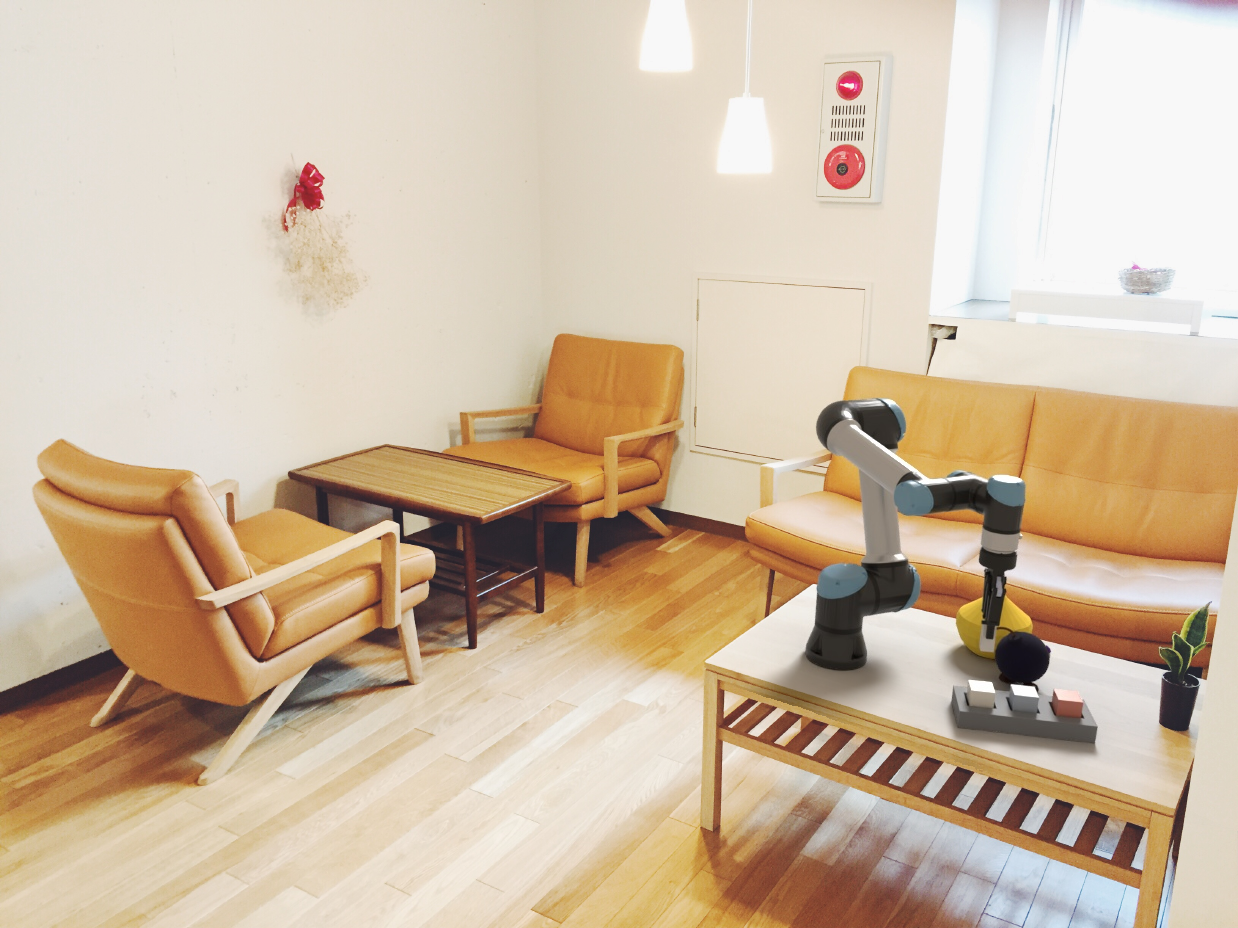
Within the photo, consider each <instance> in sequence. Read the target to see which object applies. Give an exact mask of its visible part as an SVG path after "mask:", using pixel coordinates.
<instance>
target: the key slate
mask: <svg viewBox="0 0 1238 928" xmlns="http://www.w3.org/2000/svg"><path fill="white" fill-rule="evenodd" d="M1009 687H1010V688H1009V691H1010V693H1009V703H1010V705H1011V708H1012V711H1020V712H1029V713H1037V709H1038V702H1039V696H1038V695H1039V694H1038V691H1037V692H1036V689H1035V687H1032V686H1022V684H1012V683H1011V684H1010V686H1009Z"/></svg>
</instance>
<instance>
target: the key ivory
mask: <svg viewBox="0 0 1238 928" xmlns="http://www.w3.org/2000/svg"><path fill="white" fill-rule="evenodd" d="M966 687H967V699H968V703H969V706H975V707H984V708H994V700H995V690H996V689H995V688H994V685H993V682H991V681H984V680H972V679H968V681H967V686H966Z"/></svg>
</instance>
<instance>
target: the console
mask: <svg viewBox="0 0 1238 928" xmlns="http://www.w3.org/2000/svg"><path fill="white" fill-rule="evenodd" d="M967 687H968V686H962V685H955V684H954V685H953V686H952V694H951V704H952V709H953V714H954V716H955V721H956V722H955V723H956V725H957V728H958V729H959V728H960V729H966V730H967V729H968V730H977V731H985V732H994V733H995V732H996V733H1003V734H1012V735H1019V736H1030V737H1038V738H1047V739H1053V740H1054V739H1056V740H1062V741H1071V742H1079V743H1081V742H1082V743H1087V744H1088V743H1090V744H1096V741H1097V740H1096V739H1097V734H1098V725H1097V722H1096V721H1095V719H1094V716H1093V714H1092V713H1091V710H1090V709H1089V707H1088V705H1087V702H1086V700H1085V699H1083V698H1081V699H1082V701H1083V708H1082V715H1081V718H1074V717H1065V716H1056V714H1055V712H1054V710H1053V707H1052V705H1051V704H1052V697H1053V695H1045V694H1038V696H1039V702H1038V709H1037V713H1029V712H1020V711H1012V708H1011V705H1010V703H1009V693H1010V690H998V689H994V690H995V700H994V708H984V707H975V706H969V703H968V699H967Z"/></svg>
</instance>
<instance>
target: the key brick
mask: <svg viewBox="0 0 1238 928" xmlns="http://www.w3.org/2000/svg"><path fill="white" fill-rule="evenodd" d="M1052 691H1053V692H1052V696H1053V697H1052V704H1051V705H1052V707H1053V710H1054V712H1055V714H1056V716H1065V717H1074V718H1081V715H1082V708H1083V701H1082V699H1083V698H1082V697H1081V695H1080V693H1079V691H1078V690H1067V689H1059V688H1053V690H1052Z"/></svg>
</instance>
